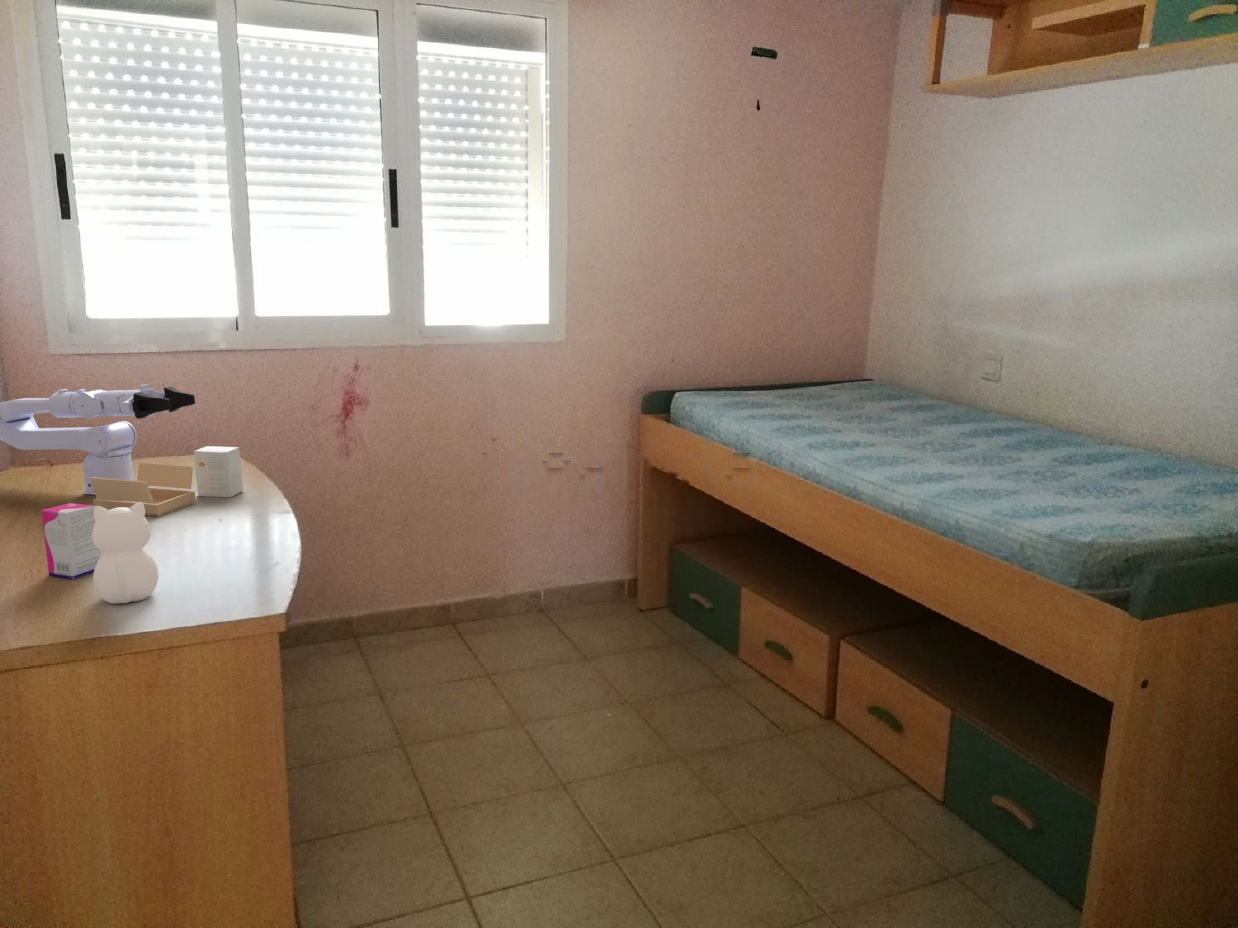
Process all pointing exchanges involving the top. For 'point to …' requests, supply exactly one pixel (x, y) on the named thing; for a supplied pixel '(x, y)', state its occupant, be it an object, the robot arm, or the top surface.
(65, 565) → the supplement box
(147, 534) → the cat figurine
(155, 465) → the far flap
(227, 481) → the small box
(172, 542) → the top surface
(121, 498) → the near flap
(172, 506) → the carton
